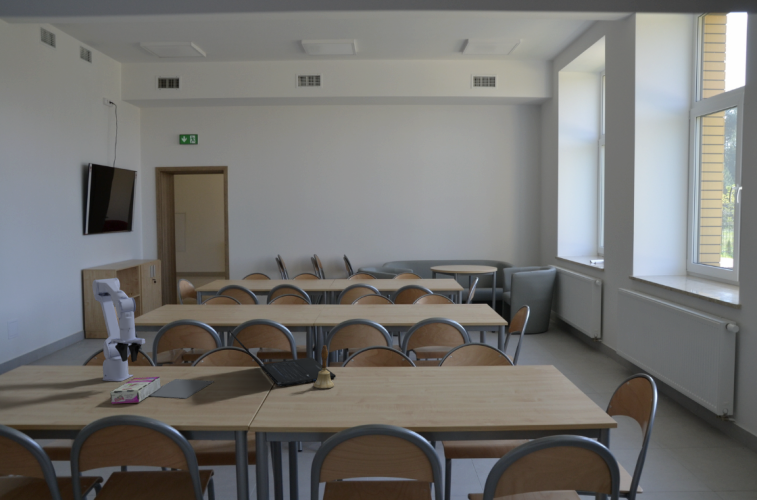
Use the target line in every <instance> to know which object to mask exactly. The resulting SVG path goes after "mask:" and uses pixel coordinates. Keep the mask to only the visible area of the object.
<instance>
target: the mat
mask: <svg viewBox="0 0 757 500" xmlns="http://www.w3.org/2000/svg"><path fill="white" fill-rule="evenodd" d="M213 383H215V380H203V379H200V380H199V379H184V378H183V379H182V378H175V379H173V380H171V381H168V382H167V383H165V384H164V385H161V388H160V389H158V390H157V391H155V392H154V393H152V394H151V395H149V396H148V397H150V398H169V399H180V400H181V399H182V400H186V399H188V398H190V397H191V396H193V395H196V393H198V392H200V391H201V390H203V389H204V388H206V387H208V386H210V385H212V384H213Z"/></svg>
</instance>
